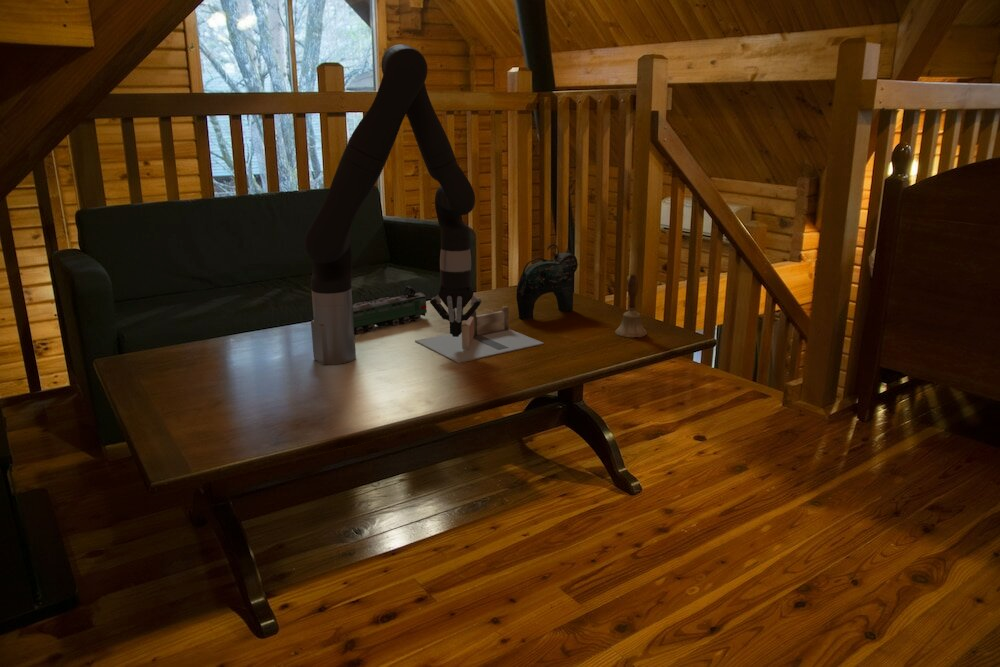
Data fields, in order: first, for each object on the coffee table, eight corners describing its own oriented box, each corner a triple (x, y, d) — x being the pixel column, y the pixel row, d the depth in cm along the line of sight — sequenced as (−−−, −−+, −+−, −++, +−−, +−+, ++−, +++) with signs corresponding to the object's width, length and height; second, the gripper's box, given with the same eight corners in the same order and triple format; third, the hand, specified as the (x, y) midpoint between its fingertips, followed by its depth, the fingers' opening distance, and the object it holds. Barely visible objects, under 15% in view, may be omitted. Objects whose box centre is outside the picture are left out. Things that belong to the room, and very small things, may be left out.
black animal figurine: (567, 306, 234) (568, 239, 228) (581, 311, 229) (583, 243, 223) (513, 316, 223) (513, 247, 217) (526, 322, 218) (526, 251, 212)
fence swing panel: (468, 334, 204) (468, 312, 202) (475, 335, 204) (475, 312, 202) (461, 349, 192) (461, 326, 190) (468, 349, 192) (468, 326, 190)
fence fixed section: (471, 336, 204) (471, 312, 202) (468, 335, 205) (467, 311, 204) (509, 328, 211) (509, 305, 209) (506, 327, 212) (505, 304, 210)
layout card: (458, 363, 185) (458, 361, 185) (415, 341, 201) (415, 340, 201) (543, 344, 199) (543, 342, 199) (496, 325, 215) (496, 323, 215)
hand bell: (647, 338, 203) (651, 278, 198) (615, 337, 204) (617, 277, 199) (645, 329, 211) (648, 271, 206) (614, 328, 212) (616, 270, 207)
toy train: (431, 319, 222) (430, 284, 219) (333, 341, 203) (330, 303, 200) (421, 315, 226) (420, 281, 223) (324, 336, 207) (321, 299, 204)
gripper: (425, 269, 186) (426, 339, 191) (480, 271, 185) (480, 341, 190) (431, 263, 193) (432, 330, 198) (484, 264, 192) (484, 332, 197)
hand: (456, 335), depth 194 cm, fingers closed
